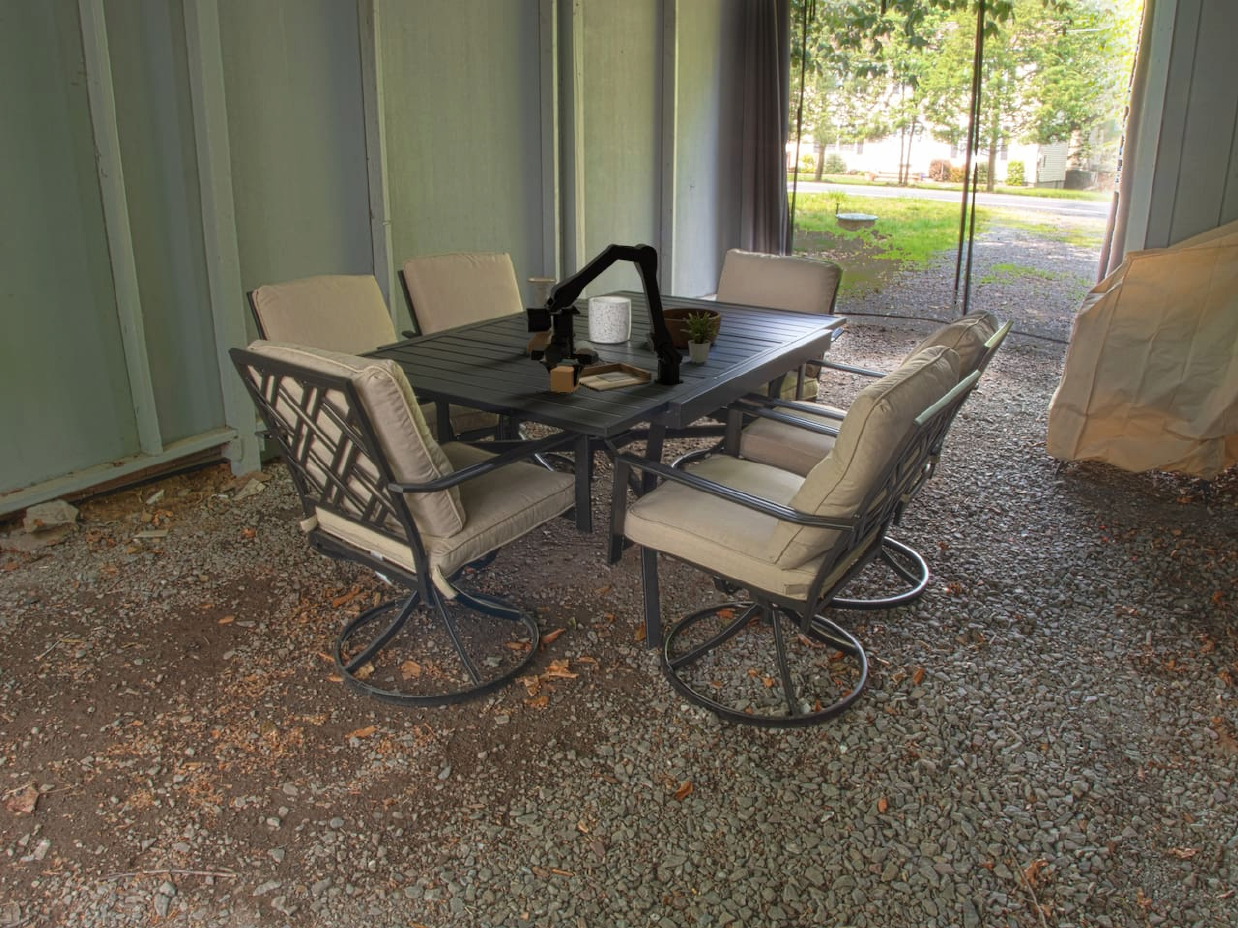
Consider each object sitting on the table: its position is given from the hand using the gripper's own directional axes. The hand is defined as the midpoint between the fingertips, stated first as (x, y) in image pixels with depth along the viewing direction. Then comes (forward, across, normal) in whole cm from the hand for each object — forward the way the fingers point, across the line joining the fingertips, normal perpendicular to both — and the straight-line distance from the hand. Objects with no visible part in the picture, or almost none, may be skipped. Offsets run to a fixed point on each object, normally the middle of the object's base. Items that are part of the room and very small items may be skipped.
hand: (565, 385), depth 246 cm
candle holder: (+2, -28, +44) cm, 52 cm away
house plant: (+1, +26, +45) cm, 52 cm away
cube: (+1, 0, 0) cm, 1 cm away
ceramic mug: (+2, -5, +28) cm, 28 cm away
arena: (+1, +8, +14) cm, 16 cm away
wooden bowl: (+2, +13, +71) cm, 73 cm away
